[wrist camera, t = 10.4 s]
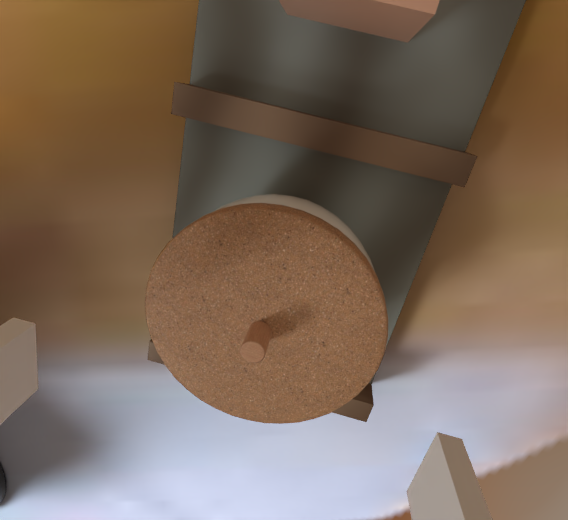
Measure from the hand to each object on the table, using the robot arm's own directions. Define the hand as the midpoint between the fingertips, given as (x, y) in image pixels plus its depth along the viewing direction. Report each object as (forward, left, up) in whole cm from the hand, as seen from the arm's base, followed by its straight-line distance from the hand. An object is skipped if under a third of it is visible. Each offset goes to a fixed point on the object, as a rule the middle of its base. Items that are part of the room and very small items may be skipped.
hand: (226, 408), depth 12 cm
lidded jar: (0, 0, -13) cm, 13 cm away
